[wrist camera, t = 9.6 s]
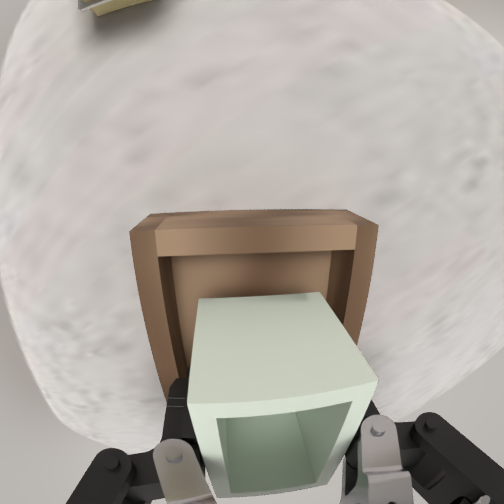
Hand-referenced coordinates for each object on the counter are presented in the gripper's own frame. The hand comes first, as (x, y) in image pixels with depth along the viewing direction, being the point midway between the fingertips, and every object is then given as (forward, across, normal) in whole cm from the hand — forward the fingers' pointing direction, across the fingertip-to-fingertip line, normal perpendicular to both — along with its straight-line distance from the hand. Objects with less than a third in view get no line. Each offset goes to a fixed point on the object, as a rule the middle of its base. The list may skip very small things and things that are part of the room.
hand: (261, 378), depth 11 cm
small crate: (+1, 0, 0) cm, 1 cm away
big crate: (+5, 0, 0) cm, 5 cm away
